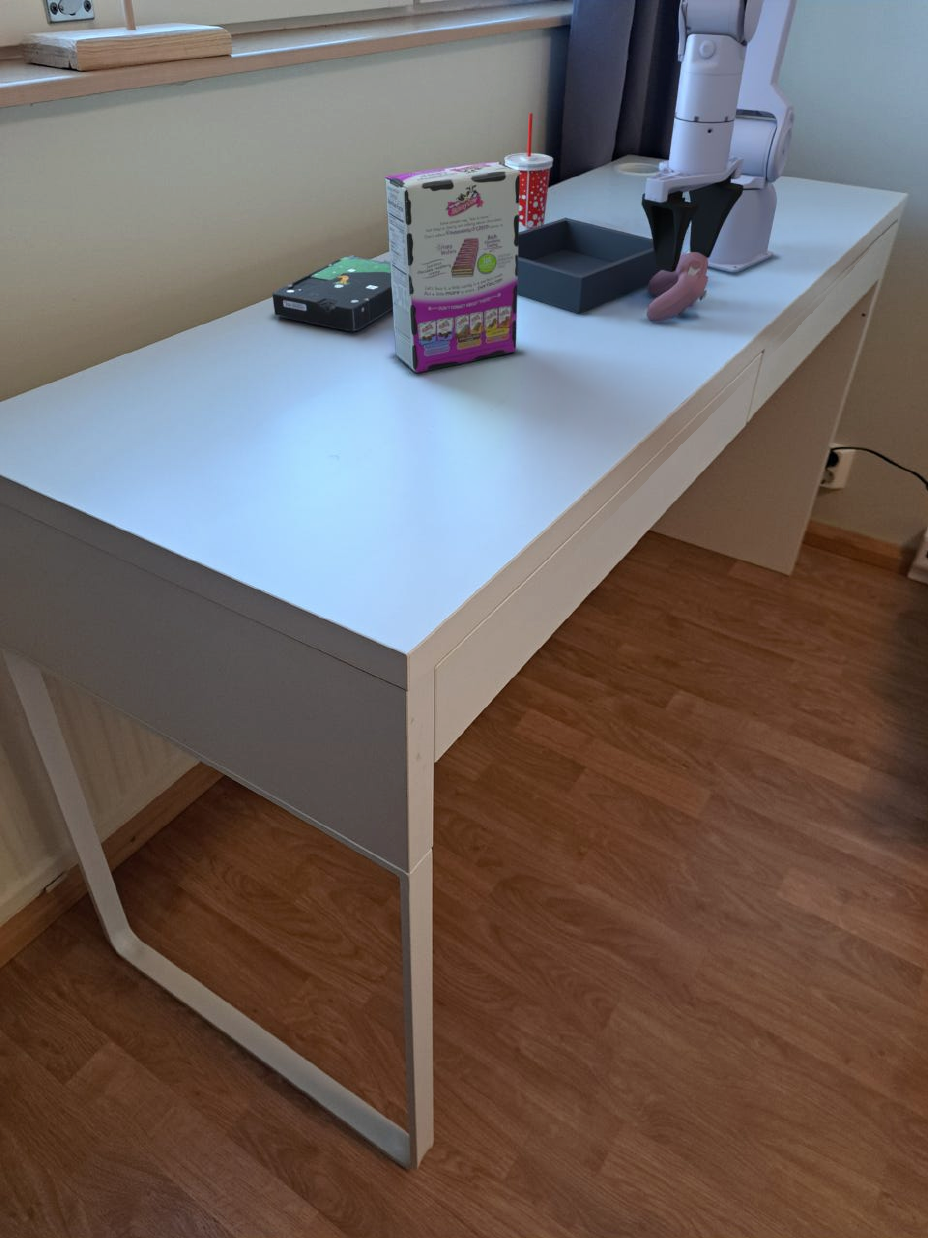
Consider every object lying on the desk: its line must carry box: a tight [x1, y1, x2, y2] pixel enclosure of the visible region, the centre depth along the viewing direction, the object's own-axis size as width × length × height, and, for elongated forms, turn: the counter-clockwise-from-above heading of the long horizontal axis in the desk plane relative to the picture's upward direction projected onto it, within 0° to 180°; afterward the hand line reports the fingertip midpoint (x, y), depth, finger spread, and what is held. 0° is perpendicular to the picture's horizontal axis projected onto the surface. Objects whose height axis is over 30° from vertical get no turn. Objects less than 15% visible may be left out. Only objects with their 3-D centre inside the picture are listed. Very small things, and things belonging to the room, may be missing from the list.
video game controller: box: [645, 248, 709, 323], centre depth 97 cm, size 10×5×7 cm, turn 170°
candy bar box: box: [384, 161, 520, 373], centre depth 84 cm, size 11×5×16 cm, turn 117°
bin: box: [517, 217, 661, 315], centre depth 106 cm, size 17×16×4 cm
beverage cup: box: [504, 112, 554, 232], centre depth 117 cm, size 6×6×14 cm
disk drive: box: [271, 255, 393, 332], centre depth 99 cm, size 10×3×15 cm
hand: (683, 262), depth 97 cm, fingers open, 6 cm apart
